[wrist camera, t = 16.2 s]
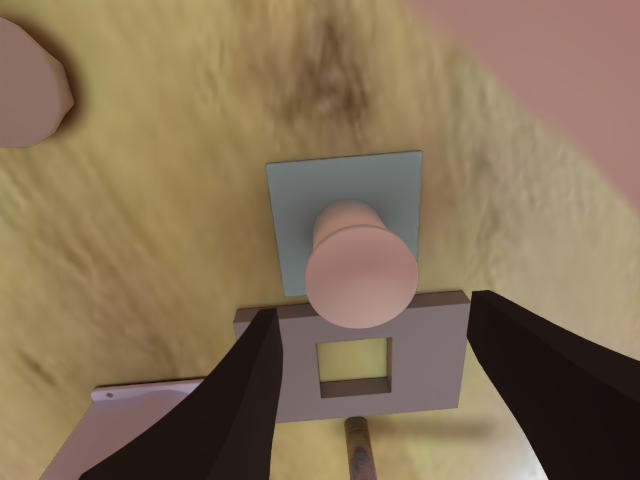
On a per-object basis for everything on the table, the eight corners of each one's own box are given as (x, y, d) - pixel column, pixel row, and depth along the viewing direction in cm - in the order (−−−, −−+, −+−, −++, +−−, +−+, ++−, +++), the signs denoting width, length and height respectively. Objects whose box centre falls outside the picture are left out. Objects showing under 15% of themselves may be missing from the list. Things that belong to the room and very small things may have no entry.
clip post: (344, 433, 28) (354, 516, 23) (343, 417, 27) (352, 500, 22) (367, 431, 28) (382, 514, 23) (366, 415, 27) (382, 497, 22)
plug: (310, 272, 21) (310, 332, 16) (302, 196, 19) (299, 235, 14) (388, 265, 21) (416, 323, 16) (389, 189, 19) (421, 225, 14)
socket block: (259, 408, 27) (256, 424, 25) (237, 309, 23) (233, 323, 21) (450, 392, 27) (457, 408, 25) (462, 290, 23) (472, 303, 21)
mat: (284, 293, 22) (284, 296, 22) (266, 163, 19) (265, 164, 18) (413, 282, 22) (415, 285, 22) (420, 150, 19) (422, 151, 18)
